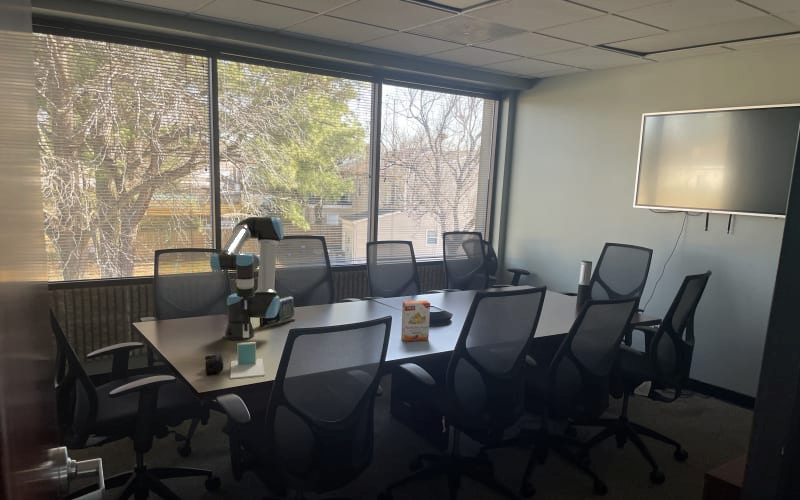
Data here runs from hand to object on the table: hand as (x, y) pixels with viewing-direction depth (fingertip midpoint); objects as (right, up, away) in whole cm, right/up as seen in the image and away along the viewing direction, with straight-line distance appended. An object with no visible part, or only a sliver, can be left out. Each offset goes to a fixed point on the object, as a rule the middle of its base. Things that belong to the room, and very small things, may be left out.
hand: (246, 337), depth 234 cm
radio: (0, -3, +60) cm, 60 cm away
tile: (+2, -7, -5) cm, 9 cm away
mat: (+3, -13, -8) cm, 16 cm away
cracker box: (+79, -8, +38) cm, 88 cm away
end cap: (-10, -13, -12) cm, 21 cm away
